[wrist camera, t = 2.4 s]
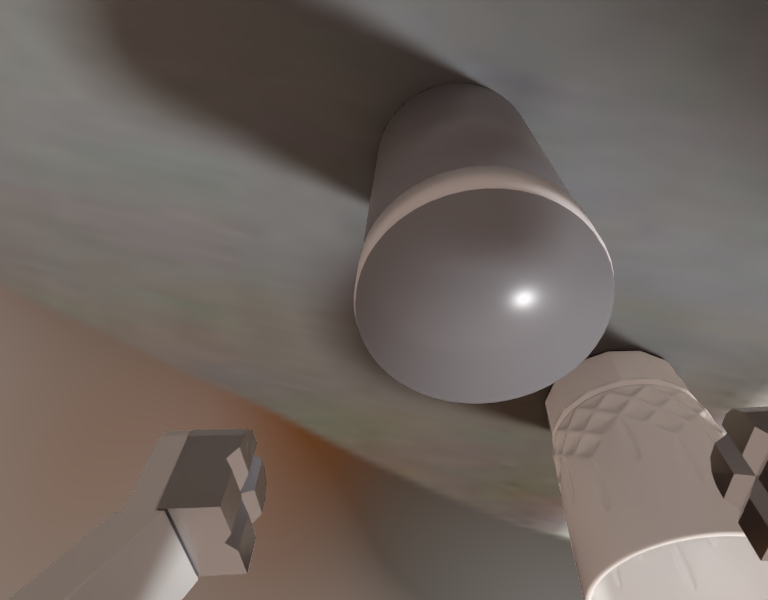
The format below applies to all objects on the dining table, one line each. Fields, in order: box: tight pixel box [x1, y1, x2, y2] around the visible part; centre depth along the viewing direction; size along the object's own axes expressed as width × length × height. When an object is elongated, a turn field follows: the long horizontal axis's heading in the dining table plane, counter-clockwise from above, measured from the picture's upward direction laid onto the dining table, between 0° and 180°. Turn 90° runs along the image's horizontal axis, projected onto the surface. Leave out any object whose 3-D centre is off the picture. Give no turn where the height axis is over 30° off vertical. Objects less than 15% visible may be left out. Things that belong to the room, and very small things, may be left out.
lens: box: [354, 83, 615, 404], centre depth 17 cm, size 6×6×10 cm
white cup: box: [545, 351, 768, 600], centre depth 23 cm, size 8×8×10 cm
